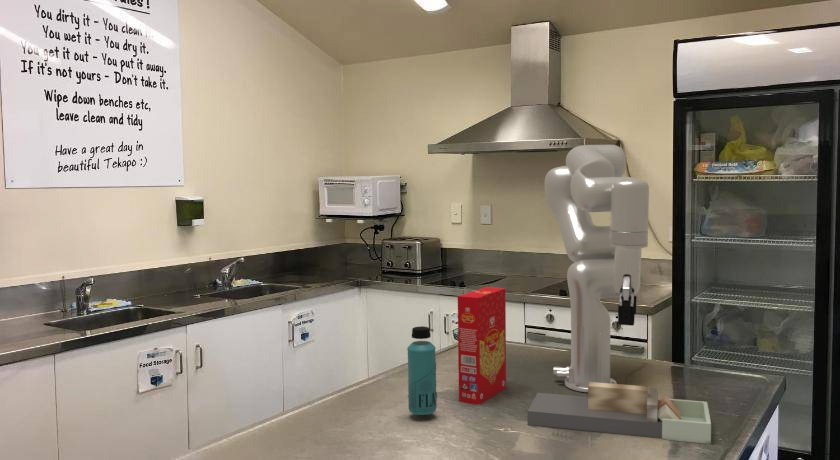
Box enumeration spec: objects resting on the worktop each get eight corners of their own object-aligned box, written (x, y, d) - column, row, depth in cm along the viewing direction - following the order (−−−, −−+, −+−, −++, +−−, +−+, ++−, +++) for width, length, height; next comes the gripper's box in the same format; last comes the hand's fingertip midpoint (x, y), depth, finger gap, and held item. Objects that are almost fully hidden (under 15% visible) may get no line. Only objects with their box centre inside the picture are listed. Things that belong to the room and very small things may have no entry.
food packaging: (478, 404, 164) (477, 297, 162) (458, 401, 166) (457, 296, 164) (506, 388, 176) (505, 288, 174) (487, 384, 179) (486, 287, 177)
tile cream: (657, 416, 142) (665, 411, 142) (658, 409, 147) (665, 404, 146) (673, 434, 142) (681, 428, 141) (673, 426, 146) (681, 421, 145)
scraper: (585, 415, 146) (585, 392, 146) (591, 398, 158) (591, 376, 157) (657, 422, 142) (657, 398, 141) (657, 403, 153) (658, 381, 153)
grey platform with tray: (527, 425, 150) (527, 407, 149) (538, 404, 163) (538, 387, 162) (710, 444, 138) (711, 424, 138) (706, 420, 151) (707, 401, 151)
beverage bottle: (416, 423, 152) (414, 332, 150) (402, 414, 158) (401, 326, 156) (442, 418, 155) (441, 328, 153) (428, 409, 161) (427, 323, 159)
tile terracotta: (658, 407, 148) (665, 401, 147) (658, 400, 152) (665, 395, 152) (672, 424, 147) (680, 418, 147) (672, 417, 151) (680, 411, 151)
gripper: (613, 233, 157) (611, 309, 159) (607, 244, 141) (605, 328, 143) (648, 234, 155) (646, 311, 157) (646, 245, 138) (644, 330, 140)
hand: (627, 319), depth 150 cm, fingers open, 9 cm apart
